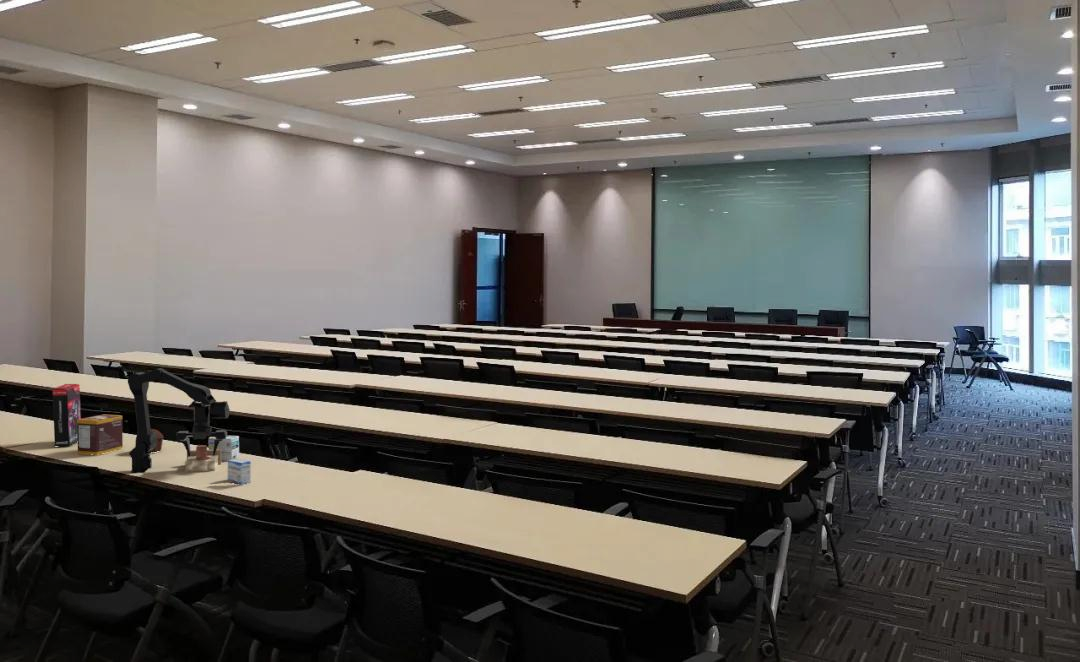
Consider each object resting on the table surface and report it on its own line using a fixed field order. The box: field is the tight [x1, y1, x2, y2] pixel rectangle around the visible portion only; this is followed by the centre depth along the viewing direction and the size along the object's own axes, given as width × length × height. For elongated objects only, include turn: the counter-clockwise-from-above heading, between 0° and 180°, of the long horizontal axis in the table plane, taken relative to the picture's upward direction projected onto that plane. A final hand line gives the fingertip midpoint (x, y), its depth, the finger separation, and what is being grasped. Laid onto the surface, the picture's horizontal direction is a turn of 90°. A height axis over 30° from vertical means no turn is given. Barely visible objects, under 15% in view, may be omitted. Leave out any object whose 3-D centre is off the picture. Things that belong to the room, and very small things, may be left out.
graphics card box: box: [52, 383, 82, 447], centre depth 372 cm, size 17×7×27 cm, turn 13°
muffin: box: [151, 428, 165, 452], centre depth 359 cm, size 12×11×10 cm
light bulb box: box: [208, 435, 240, 462], centre depth 343 cm, size 11×7×11 cm, turn 84°
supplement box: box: [77, 413, 124, 456], centre depth 357 cm, size 10×15×16 cm
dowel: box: [195, 445, 208, 460], centre depth 325 cm, size 4×4×9 cm
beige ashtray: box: [184, 455, 218, 473], centre depth 325 cm, size 11×11×4 cm
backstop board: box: [186, 449, 222, 466], centre depth 323 cm, size 13×20×7 cm, turn 15°
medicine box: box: [227, 458, 252, 486], centre depth 307 cm, size 8×4×9 cm, turn 62°
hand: (201, 456), depth 325 cm, fingers open, 9 cm apart
